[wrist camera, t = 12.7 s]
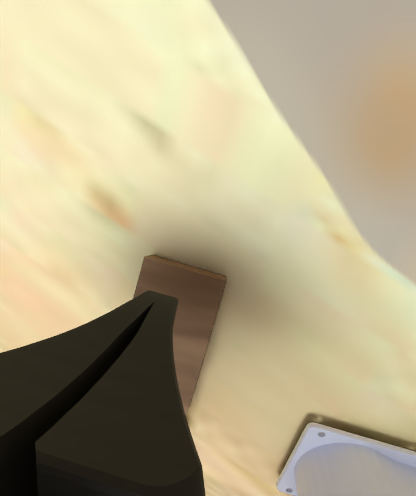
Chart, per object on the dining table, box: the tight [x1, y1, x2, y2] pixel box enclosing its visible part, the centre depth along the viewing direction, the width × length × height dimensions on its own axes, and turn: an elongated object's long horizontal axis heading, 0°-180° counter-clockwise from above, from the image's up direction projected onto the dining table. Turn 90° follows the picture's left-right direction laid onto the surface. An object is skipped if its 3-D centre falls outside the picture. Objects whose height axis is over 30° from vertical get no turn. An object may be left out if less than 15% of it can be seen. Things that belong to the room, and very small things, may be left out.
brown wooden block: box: [133, 255, 226, 408], centre depth 15 cm, size 2×5×8 cm
